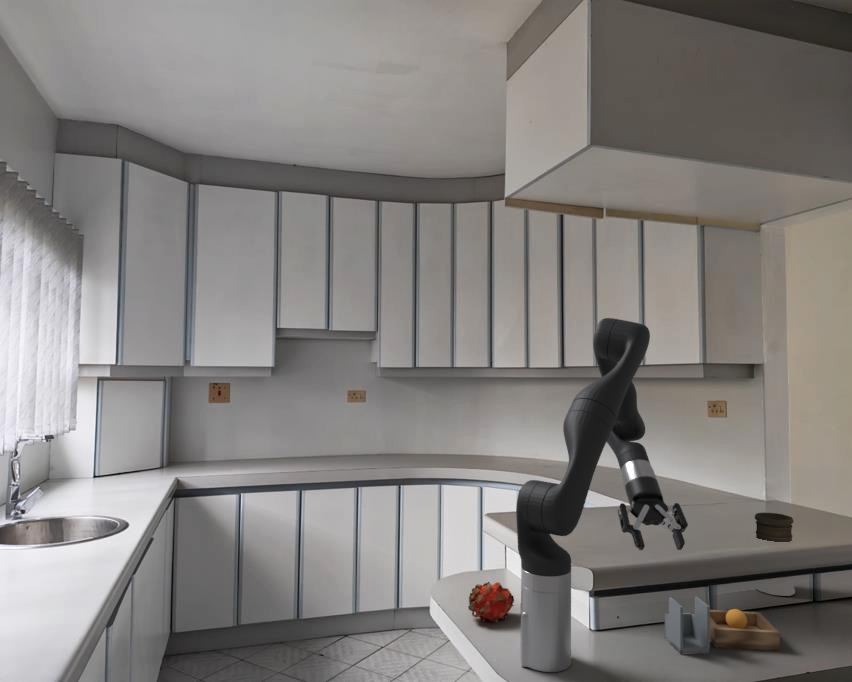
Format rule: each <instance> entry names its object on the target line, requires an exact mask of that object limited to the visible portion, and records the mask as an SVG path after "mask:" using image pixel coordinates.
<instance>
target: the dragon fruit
mask: <svg viewBox="0 0 852 682" xmlns="http://www.w3.org/2000/svg"><path fill="white" fill-rule="evenodd" d="M514 601H515V598H514V595H512V592H511V591H510V589H509V588H506V587H503V586H502V584H501V583H500V582H498V581H497V582H495V583H494V584H491V583H490V581H488V582H484V584H483V585H482V584H476V585H475V587H473V588H472V589H471V592H470V593H469V595H468V606H467V607H468V610H469V611H470V612H471V615H472V617H474V618H479V619H480V621H481V622H484V621H486V620H489V621H490V622H494V624H495V623H498V622H499V619H501V620H505V619H506V618H507V617H508V616H509V612H510V611H511V609H512V608H513V607H514Z"/></svg>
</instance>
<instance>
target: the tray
mask: <svg viewBox="0 0 852 682" xmlns="http://www.w3.org/2000/svg"><path fill="white" fill-rule="evenodd" d="M728 611H729V610H724V609H710V640H711V641H710V642H711V643H712V645H713V647H715V648H719V647H721V648H722V649H723V648H724V649H740V650H755V649H761V650H760V651H773V650H779V651H780V652H781V638H780V637H781V633H780V631H779V630H778V629H777V628H776V626H775V627H774V625H773V624H771V622H770V621H769V620H768V619H767V618H766V617H765V616H764V615H763V614H762V613H761V612H759V611H744V610H743V611H742V610H741V611H742V612H743V613H744V614H745V616H746V618H747V625H746V627H745V628H744V629H738V628H731V627H730V626H729V625H728V624H727V622H726V614H727V612H728Z"/></svg>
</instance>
